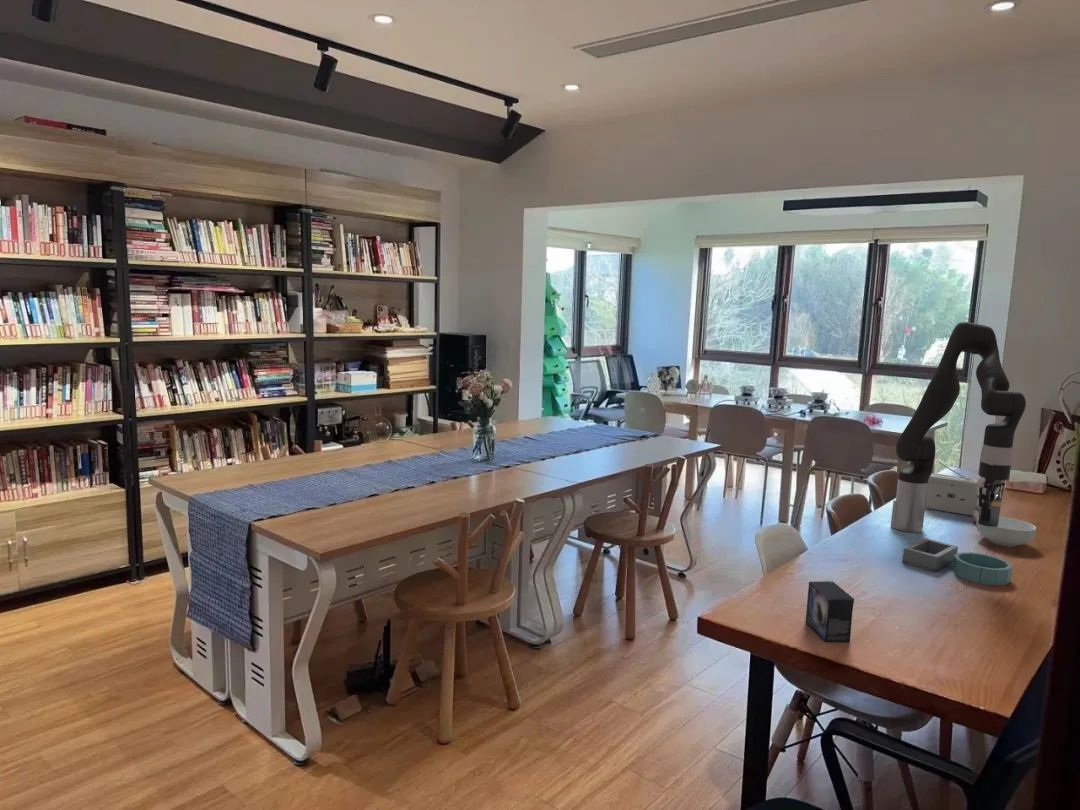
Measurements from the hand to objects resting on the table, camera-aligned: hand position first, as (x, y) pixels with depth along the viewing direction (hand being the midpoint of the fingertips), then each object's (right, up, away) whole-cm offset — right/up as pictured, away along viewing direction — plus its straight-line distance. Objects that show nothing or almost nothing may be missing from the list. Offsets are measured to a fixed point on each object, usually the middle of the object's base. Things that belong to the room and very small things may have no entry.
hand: (988, 519), depth 210 cm
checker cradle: (-10, -15, +13) cm, 22 cm away
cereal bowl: (+26, -13, +34) cm, 45 cm away
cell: (0, -1, 0) cm, 1 cm away
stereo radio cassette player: (+29, -8, +70) cm, 77 cm away
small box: (-61, -21, -38) cm, 75 cm away
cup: (-1, -17, +2) cm, 17 cm away
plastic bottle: (+31, -10, +55) cm, 64 cm away
